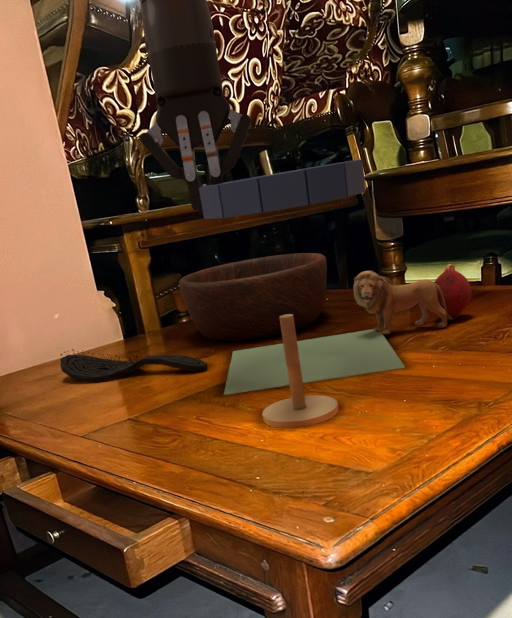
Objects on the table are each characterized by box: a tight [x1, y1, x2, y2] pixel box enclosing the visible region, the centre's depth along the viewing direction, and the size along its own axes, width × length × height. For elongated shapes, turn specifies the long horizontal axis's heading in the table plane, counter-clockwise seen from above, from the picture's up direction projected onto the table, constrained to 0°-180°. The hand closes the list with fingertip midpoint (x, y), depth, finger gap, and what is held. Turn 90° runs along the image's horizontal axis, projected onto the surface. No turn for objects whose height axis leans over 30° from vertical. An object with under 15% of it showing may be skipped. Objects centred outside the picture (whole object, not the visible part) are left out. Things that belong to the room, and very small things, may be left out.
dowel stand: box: [261, 314, 339, 429], centre depth 71 cm, size 8×8×11 cm
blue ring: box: [199, 158, 366, 220], centre depth 81 cm, size 19×19×4 cm
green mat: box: [223, 328, 406, 396], centre depth 93 cm, size 22×22×1 cm
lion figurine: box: [352, 270, 454, 335], centre depth 98 cm, size 15×5×9 cm, turn 101°
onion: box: [433, 263, 473, 320], centre depth 101 cm, size 6×6×8 cm
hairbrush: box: [59, 348, 209, 383], centre depth 103 cm, size 8×4×25 cm
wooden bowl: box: [178, 252, 328, 342], centre depth 118 cm, size 25×25×10 cm
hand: (210, 212), depth 82 cm, fingers closed on blue ring, 1 cm apart
